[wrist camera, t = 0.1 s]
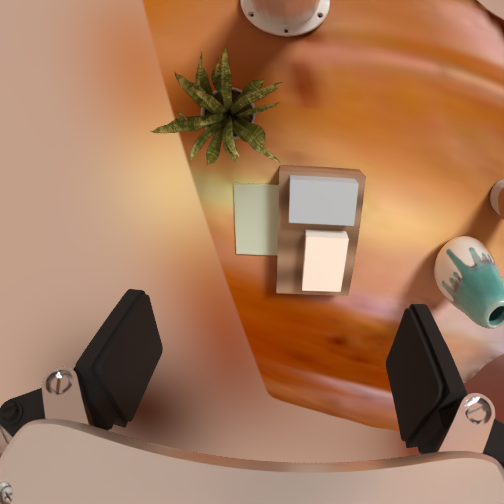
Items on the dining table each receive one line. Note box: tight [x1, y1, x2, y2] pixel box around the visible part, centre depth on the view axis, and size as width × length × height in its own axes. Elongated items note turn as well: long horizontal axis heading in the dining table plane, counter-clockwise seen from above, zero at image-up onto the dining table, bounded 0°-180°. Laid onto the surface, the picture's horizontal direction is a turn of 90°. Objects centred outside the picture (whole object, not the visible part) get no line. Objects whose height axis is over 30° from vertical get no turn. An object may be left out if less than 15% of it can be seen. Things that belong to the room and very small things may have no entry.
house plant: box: [152, 45, 282, 165], centre depth 33 cm, size 14×14×16 cm
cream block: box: [302, 230, 349, 292], centre depth 44 cm, size 9×6×2 cm, turn 1°
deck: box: [276, 165, 365, 296], centre depth 46 cm, size 20×12×4 cm, turn 1°
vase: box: [434, 236, 504, 328], centre depth 39 cm, size 12×12×18 cm
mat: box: [234, 184, 279, 256], centre depth 48 cm, size 12×7×1 cm, turn 1°
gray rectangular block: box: [289, 175, 359, 226], centre depth 40 cm, size 9×6×2 cm, turn 91°
